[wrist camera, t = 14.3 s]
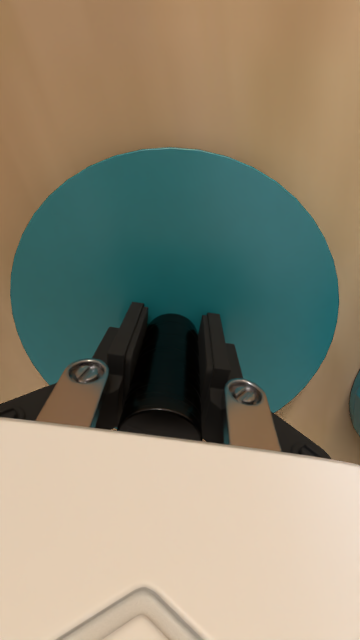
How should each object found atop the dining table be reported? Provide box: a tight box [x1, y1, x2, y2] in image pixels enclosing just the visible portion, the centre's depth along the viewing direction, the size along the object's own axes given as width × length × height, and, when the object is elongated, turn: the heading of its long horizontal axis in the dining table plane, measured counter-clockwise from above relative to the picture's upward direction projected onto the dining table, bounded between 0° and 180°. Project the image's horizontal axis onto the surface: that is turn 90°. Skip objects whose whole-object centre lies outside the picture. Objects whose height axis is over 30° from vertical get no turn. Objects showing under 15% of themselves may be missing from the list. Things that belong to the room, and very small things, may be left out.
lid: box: [10, 147, 339, 441], centre depth 10 cm, size 15×15×7 cm
